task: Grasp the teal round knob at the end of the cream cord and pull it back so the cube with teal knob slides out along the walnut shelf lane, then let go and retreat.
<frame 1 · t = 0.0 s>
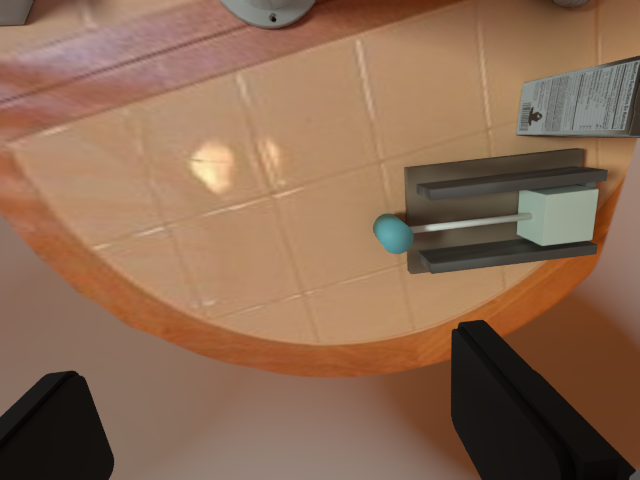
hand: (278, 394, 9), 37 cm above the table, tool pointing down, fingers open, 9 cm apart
coffee box: (551, 110, 43), on the table
shelf lane: (487, 211, 46), on the table
cube with teal knob: (479, 222, 42), point 4 cm above the table, slide at 0.0 cm
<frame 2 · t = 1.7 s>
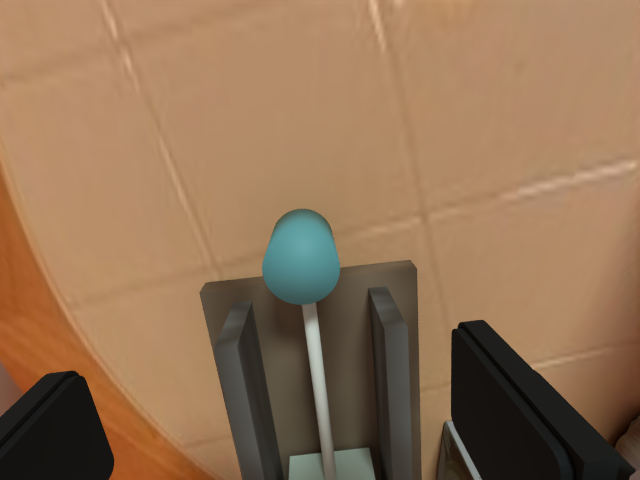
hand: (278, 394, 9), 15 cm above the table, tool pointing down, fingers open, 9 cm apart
garlic bulb: (637, 431, 30), on the table
coffee box: (473, 457, 30), on the table
shelf lane: (324, 401, 27), on the table
cube with teal knob: (322, 410, 22), point 4 cm above the table, slide at 0.0 cm
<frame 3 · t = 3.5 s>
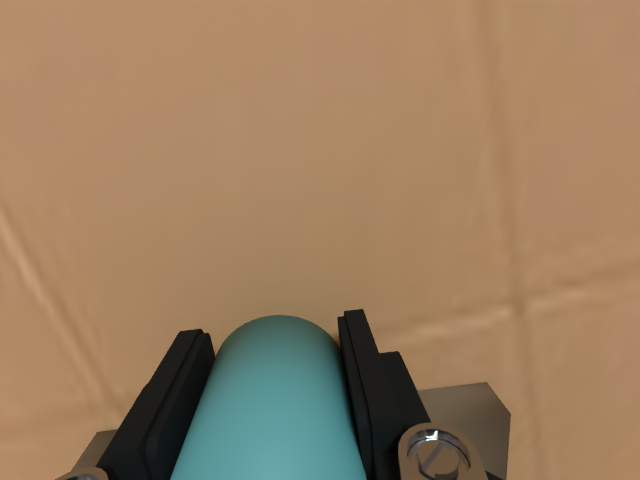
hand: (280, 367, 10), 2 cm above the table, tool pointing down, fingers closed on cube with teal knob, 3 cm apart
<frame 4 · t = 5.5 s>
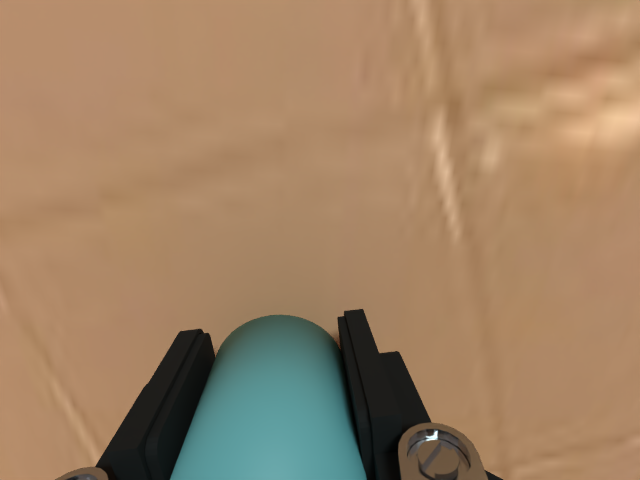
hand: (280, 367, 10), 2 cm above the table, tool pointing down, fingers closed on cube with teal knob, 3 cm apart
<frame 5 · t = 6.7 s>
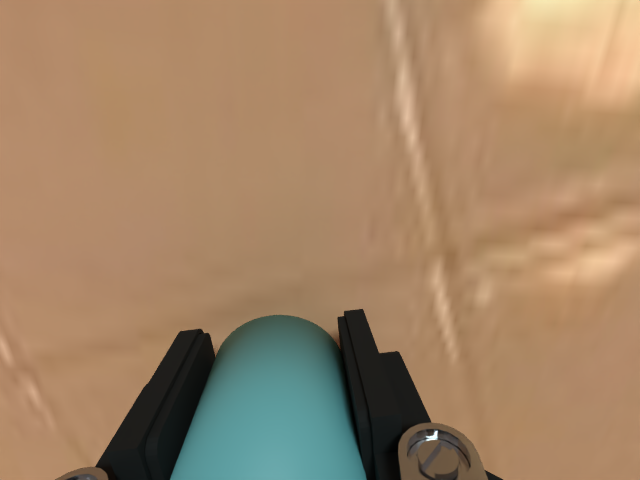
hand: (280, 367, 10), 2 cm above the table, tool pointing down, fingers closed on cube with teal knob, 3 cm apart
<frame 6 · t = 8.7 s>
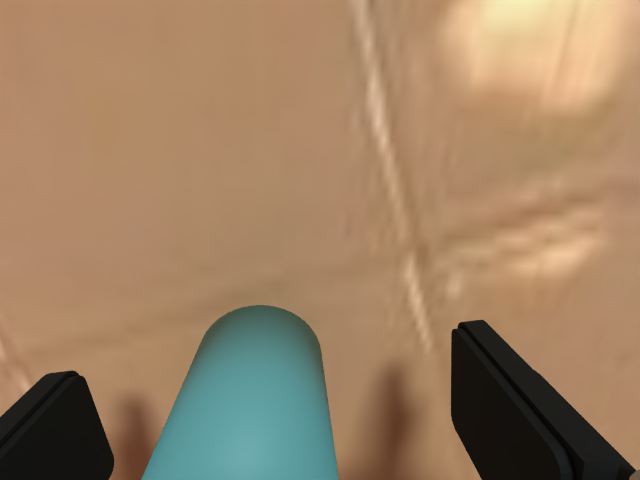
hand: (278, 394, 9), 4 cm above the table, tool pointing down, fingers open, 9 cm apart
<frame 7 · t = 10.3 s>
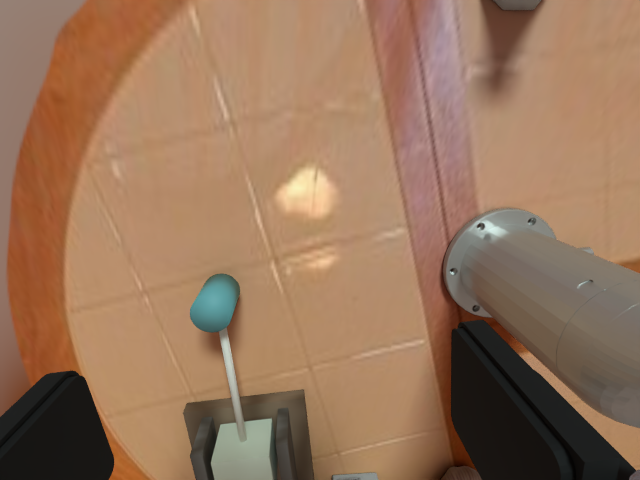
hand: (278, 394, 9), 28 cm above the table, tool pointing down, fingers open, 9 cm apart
garlic bulb: (451, 478, 49), on the table
shelf lane: (258, 465, 45), on the table
cube with teal knob: (234, 392, 36), point 4 cm above the table, slide at 12.0 cm
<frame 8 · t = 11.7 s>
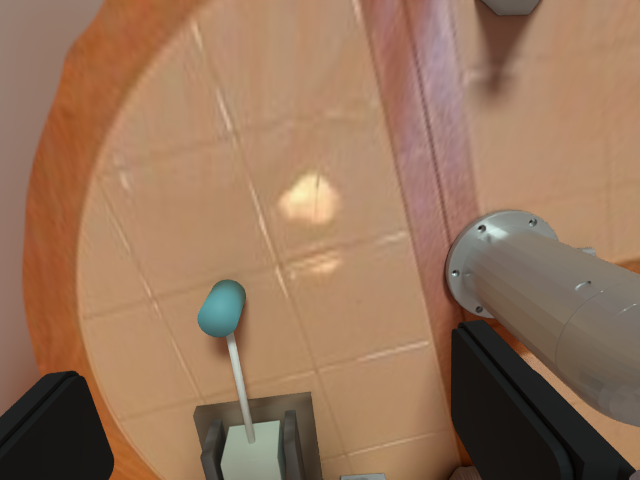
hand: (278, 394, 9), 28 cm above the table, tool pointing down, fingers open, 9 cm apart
garlic bulb: (459, 478, 49), on the table
shelf lane: (267, 467, 46), on the table
cube with teal knob: (242, 395, 37), point 4 cm above the table, slide at 12.0 cm
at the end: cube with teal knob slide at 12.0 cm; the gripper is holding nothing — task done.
